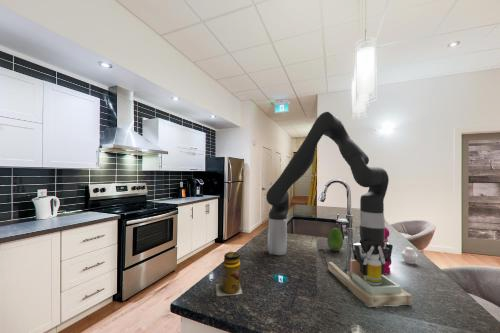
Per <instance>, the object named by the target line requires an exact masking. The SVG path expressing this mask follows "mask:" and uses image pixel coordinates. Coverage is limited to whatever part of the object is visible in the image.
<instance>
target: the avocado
mask: <svg viewBox="0 0 500 333" xmlns="http://www.w3.org/2000/svg"><path fill="white" fill-rule="evenodd" d="M343 238H344V237H343V234H342V231H341V229H340V228H337V227H333V228H332V229H331V230H330V232H329V233H328V236H327V241H326V242H327V245H328V248H329V249H330V250H332V251H333V252H339V251H341V250H342V248H343V245H344V239H343Z"/></svg>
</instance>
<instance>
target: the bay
mask: <svg viewBox="0 0 500 333" xmlns="http://www.w3.org/2000/svg"><path fill="white" fill-rule="evenodd" d="M327 270H329V272H331V274H332V275H333V276H335V277H336V278H337V280H339V282H341V283H342V285H344V286H345V287H346V286H347V287H348V288H347V287H346V288H347V289H348V290H349V291H350V290H351V291H352V292H353V295H354V296H355V297H357V299H358V300H360V299H361V300H362V301H363V302H364V303H365V304H366V305H367V306H384V305H409V304H410V305H409V306H412V294H410V293H408V292H407V291H406V290H404V289H402V288H401V293H387V294H369V293H368V292H366V291H365V290H364V289H363V288H362V287H361V286H359V285H358V284H357V283H356V282H355V281H354V280H352V279H351V278H350V276H349V275H348V274H347V273H345V272H344V271H343V270H342V269H341V268H340V267H338V266H337V265H336V264H334V262H333V261H328V263H327ZM351 291H350V292H351ZM352 292H351V293H352ZM361 300H360V301H361ZM362 301H361V302H362ZM363 302H362V303H363ZM364 303H363V304H364ZM365 304H364V305H365ZM366 305H365V306H366ZM367 306H366V307H367Z"/></svg>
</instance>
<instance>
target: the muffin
mask: <svg viewBox="0 0 500 333" xmlns="http://www.w3.org/2000/svg"><path fill="white" fill-rule="evenodd" d="M401 256H402V258H403V260H404V262H405V263H406V264H409V265H415V263H416V262H417V260H418V259H419V255H418V253H416V250H415V249H414V248H412V247H409V246H408V247H405V248H404V249H403V251H401Z"/></svg>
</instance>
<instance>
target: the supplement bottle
mask: <svg viewBox="0 0 500 333" xmlns="http://www.w3.org/2000/svg"><path fill="white" fill-rule="evenodd" d="M366 265H367V276H364V275H363V279H364V280H365V281H366V282H367V283H370V284H372V285H380V284H381V261H380V260H379V254H371V256H370V259H368V261H367V264H366Z"/></svg>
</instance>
